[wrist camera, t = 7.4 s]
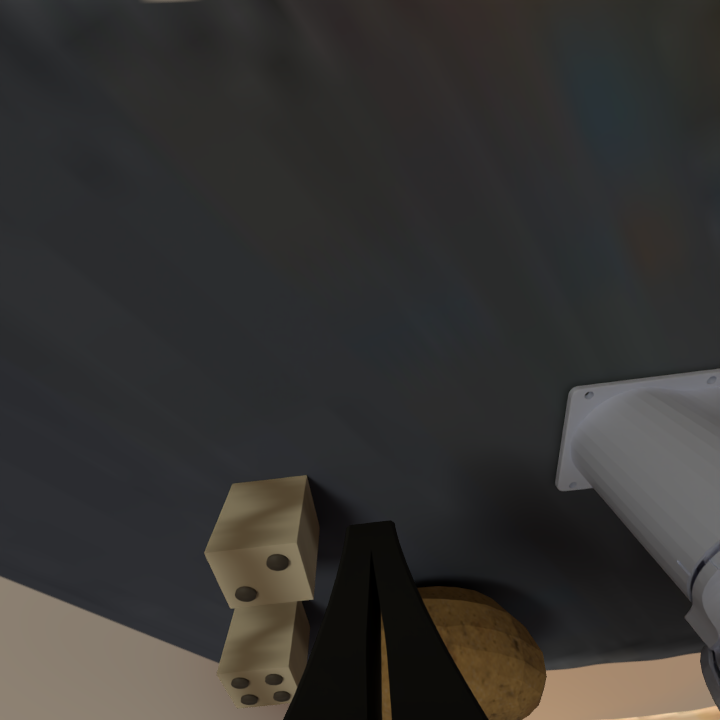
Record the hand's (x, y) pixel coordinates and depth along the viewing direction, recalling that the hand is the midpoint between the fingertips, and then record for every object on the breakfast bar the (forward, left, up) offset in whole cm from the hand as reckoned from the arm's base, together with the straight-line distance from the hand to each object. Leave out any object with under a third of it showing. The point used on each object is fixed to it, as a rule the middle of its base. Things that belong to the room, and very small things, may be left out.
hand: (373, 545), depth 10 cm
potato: (-3, +21, -11) cm, 24 cm away
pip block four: (+10, +21, -10) cm, 26 cm away
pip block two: (+7, +9, -10) cm, 16 cm away
